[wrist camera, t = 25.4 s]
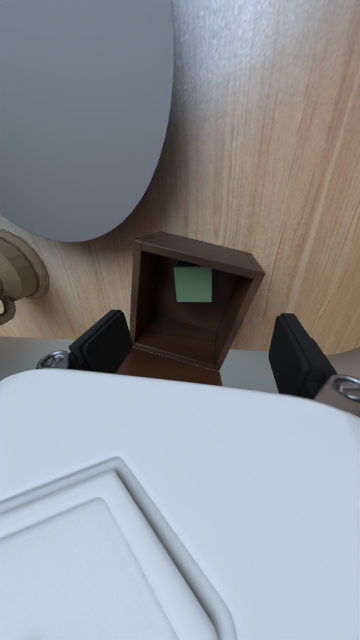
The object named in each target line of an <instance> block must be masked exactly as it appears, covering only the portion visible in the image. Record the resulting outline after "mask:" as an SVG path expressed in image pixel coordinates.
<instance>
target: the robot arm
mask: <svg viewBox="0 0 360 640" xmlns="http://www.w3.org/2000/svg"><path fill="white" fill-rule="evenodd" d="M132 348H133V343H132V340H131V336H130V333H129V329H128V326H127V322H126V318H125V315H124V313H123V312H122V311H121V310H110V311H109V312H108V313H107V314H106V315H105V316H104V317H102V318H101V319H100V320H99V321H98V322H97V323H95V324H94V325H93V326H92V327H91V328H90V329H88V330H87V331H86V332H85V333H84V334H83V335H81V336H80V337H79V338H78V339H77V340H76V341H74V342H73V343H72V344H71V345H70V346H69V349H70V351H71V352H70V353H69V354H68V352H67V351H63V350H62V351H56V352H53V353H50V354H48V355H46V356H45V357H43V358H42V359H41V360H40V361H39V362H38V364H37V367H36V369H35V370H30V371H25V372H21V373H18V374H14V375H12V376H9V377H7V378H5V379H3V380H2V381H0V640H360V379H358V378H355V377H353V376H349V375H344V374H337V372H336V371H335V369H334V368H333V366H332V365H331V363H330V362H329V361H328V359H327V358H326V356H325V355H324V353H323V352H322V351H321V349H320V348H319V346H318V345H317V343H316V342H315V341H314V339H312V338H310V337H309V335H308V334H307V332H306V331H305V329H304V328H303V326H302V325H301V323H300V322H299V320H298V319H297V317H296V316H295V315H294V314H291V313H282V314H281V315H280V316H277V317H276V321H275V326H274V331H273V336H272V340H271V345H270V350H269V361H270V365H271V368H272V371H273V375H274V378H275V381H276V385H277V388H278V391H279V393H273V392H266V391H259V390H250V389H241V388H233V387H224V386H216V385H208V384H199V383H191V382H182V381H173V380H165V379H156V378H147V377H138V376H129V375H120V374H115V373H116V372H117V370H118V369H119V368H120V366H121V365H122V363H123V362H124V360H125V359H126V357H127V356H128V354H129V353H130V351H131V350H132Z"/></svg>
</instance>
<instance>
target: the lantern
mask: <svg viewBox="0 0 360 640" xmlns="http://www.w3.org/2000/svg"><path fill="white" fill-rule="evenodd" d="M48 286H49V279H48V273H47V270H46V268H45V266H44V264H43V261H42V260H41V258H40V257H39V256H38V254H37V253H36V252H35V250H34V249H33V248H32V247H31V246H30V245H29V244H27V243H26V242H25V241H24V240H23V239H22V238H20V237H18V236H16V235H15V234H13V233H11V232H8V231H3V230H0V300H2V303H3V306H4V312H3V313H2V314H0V326H1V325H3V324H5V323H6V322H8V321H9V320H11V319H13V318H14V315H15V312H16V306H15V303H14V301H17V300H19V299H22V298H24V297H25V298H31V299H34V298H40V297H42V296H43V295H44V294H45V293H46V292H47V290H48Z"/></svg>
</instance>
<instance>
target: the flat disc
mask: <svg viewBox="0 0 360 640" xmlns="http://www.w3.org/2000/svg"><path fill="white" fill-rule="evenodd" d="M173 75H174V24H173V9H172V0H0V214H1V215H3V216H4V217H5V218H7V219H8V220H10V221H11V222H13V223H15V224H16V225H18V226H19V227H21V228H23V229H25V230H27V231H29V232H31V233H33V234H36V235H39V236H41V237H44V238H47V239H51V240H56V241H62V242H80V241H87V240H91V239H94V238H98V237H100V236H102V235H104V234H106V233H108V232H110V231H111V230H112V229H114V228H115V227H117V226H118V225H119V224H121V223H122V222H123V221H124V220H125V219H126V218H127V217H128V216H129V214H130V213H131V212H132V211H133V209H134V208H135V207H136V205H137V204H138V203H139V201H140V200H141V198H142V196H143V195H144V193H145V191H146V189H147V187H148V185H149V184H150V181H151V179H152V176H153V174H154V171H155V169H156V166H157V164H158V161H159V158H160V154H161V150H162V147H163V143H164V140H165V136H166V130H167V125H168V119H169V113H170V108H171V97H172V86H173Z"/></svg>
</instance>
